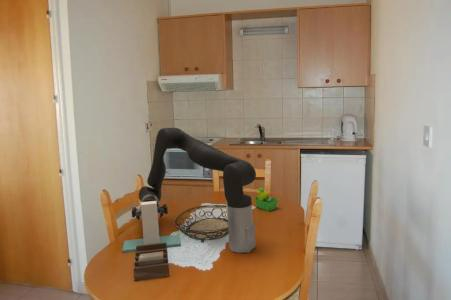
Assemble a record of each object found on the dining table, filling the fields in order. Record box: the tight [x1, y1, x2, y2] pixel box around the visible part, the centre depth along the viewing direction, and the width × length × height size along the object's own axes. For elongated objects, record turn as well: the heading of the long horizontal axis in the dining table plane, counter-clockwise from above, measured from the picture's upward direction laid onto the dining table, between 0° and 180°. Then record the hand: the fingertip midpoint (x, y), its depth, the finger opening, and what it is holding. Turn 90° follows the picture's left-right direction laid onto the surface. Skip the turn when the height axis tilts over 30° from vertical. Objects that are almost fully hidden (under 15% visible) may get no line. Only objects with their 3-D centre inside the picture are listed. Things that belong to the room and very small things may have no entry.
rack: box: [133, 242, 170, 282], centre depth 130 cm, size 19×11×5 cm, turn 11°
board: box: [121, 234, 182, 254], centre depth 149 cm, size 10×22×2 cm, turn 101°
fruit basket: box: [253, 187, 279, 212], centre depth 190 cm, size 11×9×11 cm
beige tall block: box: [140, 201, 160, 245], centre depth 148 cm, size 4×6×16 cm, turn 101°
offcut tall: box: [138, 256, 164, 267], centre depth 123 cm, size 2×8×6 cm, turn 101°
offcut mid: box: [139, 253, 163, 258], centre depth 127 cm, size 2×8×4 cm, turn 101°
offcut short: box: [140, 251, 163, 256], centre depth 132 cm, size 2×8×4 cm, turn 101°
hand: (149, 216), depth 147 cm, fingers open, 8 cm apart
